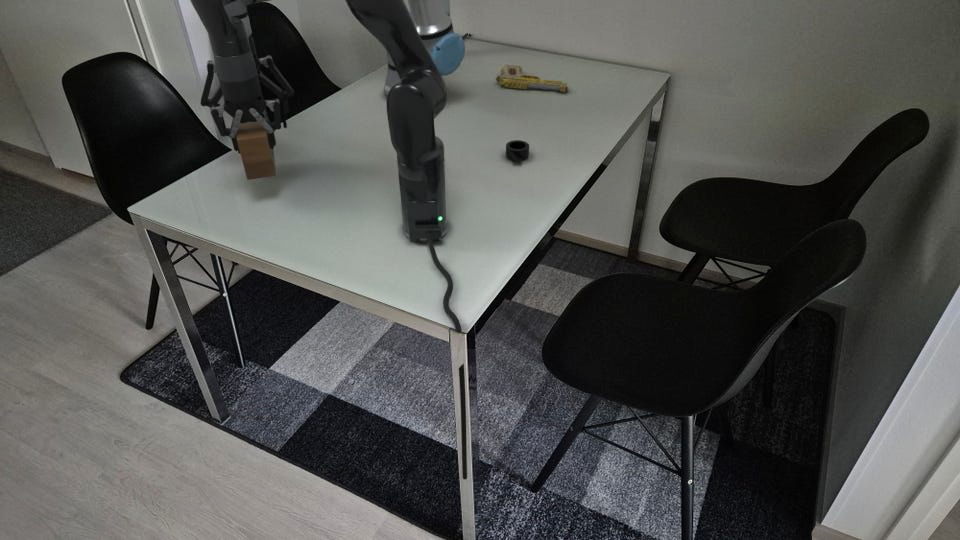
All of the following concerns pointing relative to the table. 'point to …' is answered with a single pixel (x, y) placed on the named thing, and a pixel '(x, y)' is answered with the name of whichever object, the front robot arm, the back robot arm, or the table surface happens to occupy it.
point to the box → (256, 150)
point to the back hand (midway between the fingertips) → (255, 129)
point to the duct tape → (517, 150)
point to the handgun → (527, 80)
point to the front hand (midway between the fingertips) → (256, 149)
